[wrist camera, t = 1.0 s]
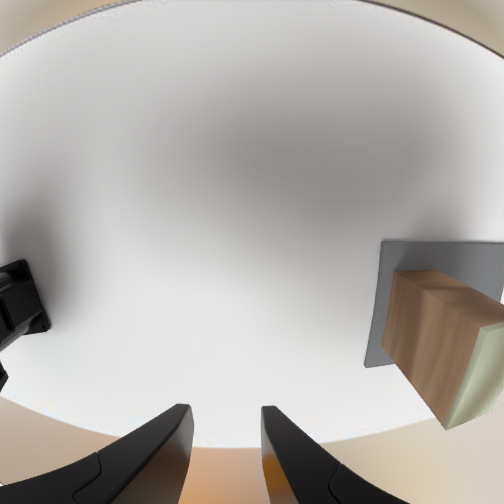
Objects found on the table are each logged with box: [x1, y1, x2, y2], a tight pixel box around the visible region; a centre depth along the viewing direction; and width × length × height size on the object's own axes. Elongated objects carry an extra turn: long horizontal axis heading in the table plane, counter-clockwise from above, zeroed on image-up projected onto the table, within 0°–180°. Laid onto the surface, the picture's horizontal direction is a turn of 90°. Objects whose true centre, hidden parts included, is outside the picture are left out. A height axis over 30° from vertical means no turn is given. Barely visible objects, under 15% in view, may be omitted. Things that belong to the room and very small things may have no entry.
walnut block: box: [381, 269, 504, 430], centre depth 14 cm, size 4×6×10 cm, turn 0°
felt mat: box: [364, 242, 504, 368], centre depth 20 cm, size 15×10×1 cm, turn 90°
